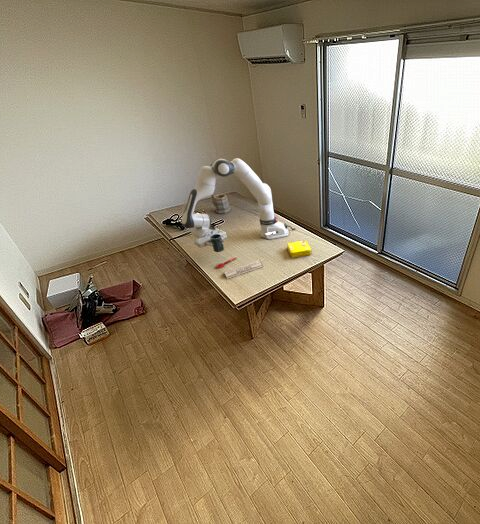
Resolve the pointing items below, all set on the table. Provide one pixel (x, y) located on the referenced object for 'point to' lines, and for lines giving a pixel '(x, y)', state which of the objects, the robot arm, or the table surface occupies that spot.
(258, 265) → the newspaper
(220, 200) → the tankard
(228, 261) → the spoon
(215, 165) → the robot arm
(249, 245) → the table surface
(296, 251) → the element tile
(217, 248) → the mug
